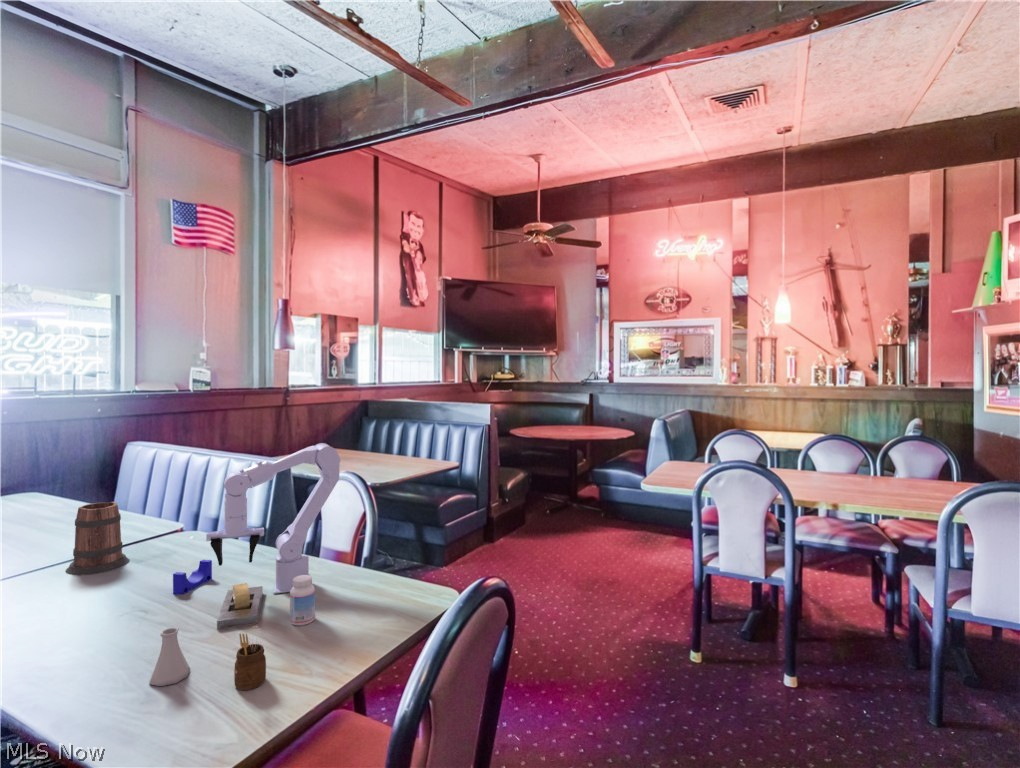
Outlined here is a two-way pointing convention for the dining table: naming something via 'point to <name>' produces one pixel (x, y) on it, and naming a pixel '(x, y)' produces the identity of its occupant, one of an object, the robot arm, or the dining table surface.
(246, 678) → the utensil holder
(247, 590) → the wooden toy block
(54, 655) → the dining table surface
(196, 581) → the cable clip
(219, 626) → the gray rectangular plate
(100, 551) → the tankard
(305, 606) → the pill bottle
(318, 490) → the robot arm
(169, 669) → the flask
